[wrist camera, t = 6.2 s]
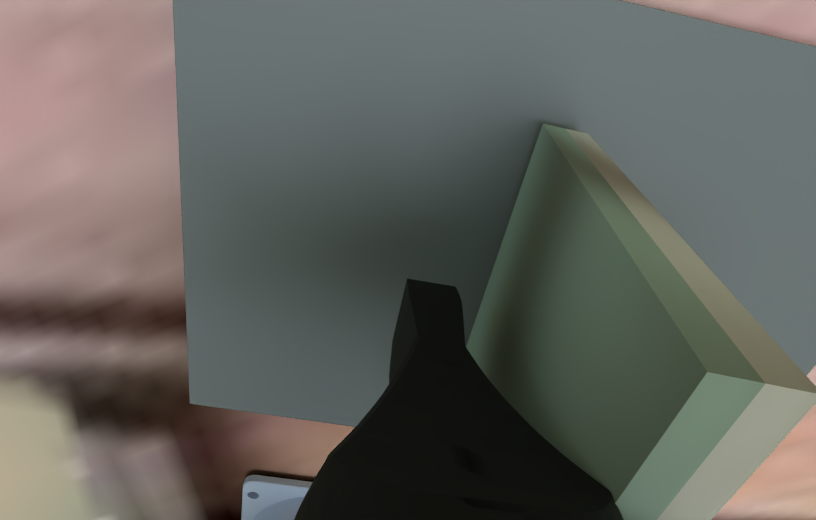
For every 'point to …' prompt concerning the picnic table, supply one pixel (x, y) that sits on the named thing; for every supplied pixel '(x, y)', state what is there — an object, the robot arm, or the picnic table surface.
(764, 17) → the picnic table surface
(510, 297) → the tile
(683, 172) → the board
